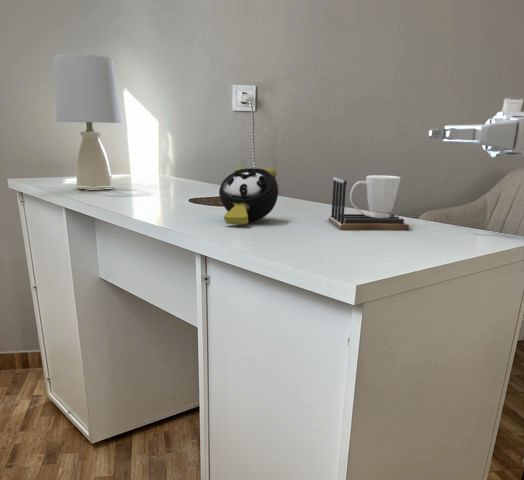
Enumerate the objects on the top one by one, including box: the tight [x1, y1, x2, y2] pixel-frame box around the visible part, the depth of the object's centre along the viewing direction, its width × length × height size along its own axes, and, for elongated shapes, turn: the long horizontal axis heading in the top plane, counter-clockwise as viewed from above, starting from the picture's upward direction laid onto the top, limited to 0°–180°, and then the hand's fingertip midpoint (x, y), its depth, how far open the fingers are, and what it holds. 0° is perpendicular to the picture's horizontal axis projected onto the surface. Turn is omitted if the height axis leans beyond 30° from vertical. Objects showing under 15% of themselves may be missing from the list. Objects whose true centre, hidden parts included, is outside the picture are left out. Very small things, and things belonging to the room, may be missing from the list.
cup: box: [349, 174, 402, 218], centre depth 115 cm, size 7×10×8 cm
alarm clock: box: [218, 167, 279, 225], centre depth 118 cm, size 12×15×15 cm
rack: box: [328, 176, 410, 231], centre depth 116 cm, size 14×12×9 cm
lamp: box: [53, 53, 122, 189], centre depth 169 cm, size 19×19×37 cm
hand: (438, 133), depth 112 cm, fingers open, 8 cm apart
